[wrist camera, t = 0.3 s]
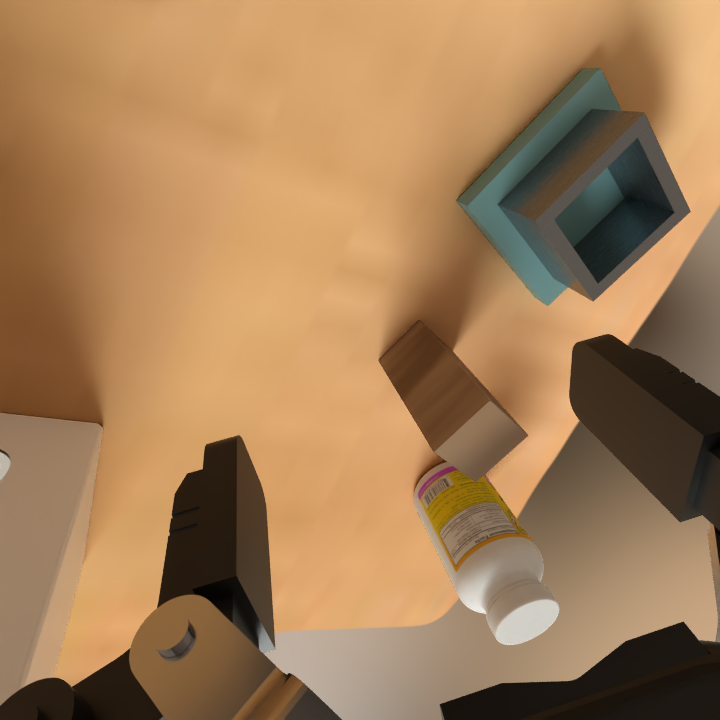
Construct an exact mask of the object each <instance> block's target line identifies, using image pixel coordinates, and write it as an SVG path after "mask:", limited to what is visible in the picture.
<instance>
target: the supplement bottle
mask: <svg viewBox="0 0 720 720" xmlns="http://www.w3.org/2000/svg"><path fill="white" fill-rule="evenodd" d="M414 505H415V508H416V511H417V513H418V515H419V517H420V519H421V521H422V523H423V525H424V527H425V529H426V531H427V533H428V535H429V537H430V539H431V541H432V543H433V545H434V547H435V549H436V551H437V553H438V555H439V557H440V559H441V561H442V564H443V566H444V568H445V570H446V572H447V574H448V576H449V578H450V580H451V582H452V584H453V586H454V588H455V590H456V592H457V594H458V596H459V598H460V600H461V601H462V602H463V603H464V604H465V605H466V606H467V607H468V608H470V609H471V610H474V611H476V612H479V613H485V614H486V617H487V622H488V625H489V626H490V628H491V630H492V632H493V634H494V635H495V637H496V639H497V640H498V641H499V642H500V643H502V644H506V645H514V644H520V643H523V642H525V641H528V640H530V639H532V638H534V637H536V636H538V635H540V634H541V633H543V632H544V631H545V630H546V629H547V628H549V627H550V626H551V624H552V623H553V622H554V621H555V620H556V618H557V616H558V613H559V604H558V602H557V601H556V599H555V598H554V596H553V594H552V593H551V591H550V590H549V588H548V587H547V586H545V585H544V584H542V583H541V582H540V581H541V579H542V576H543V571H544V562H543V558H542V555H541V553H540V552H539V550H538V548H537V547H536V545H535V544H534V543H533V541H532V540H531V538H530V537H529V536H528V534H527V533H526V531H525V530H524V529H523V527H522V526H521V525H520V523H519V522H518V520H517V519H516V517H515V516H514V515H513V513H512V512H511V510H510V509H509V508H508V506H507V505H506V503H505V502H504V501H503V499H502V498H501V496H500V495H499V493H498V492H497V491H496V489H495V488H494V487H493V485H492V484H491V482H490V481H489V479H488V478H487V477H486V475H485V474H484V475H483V476H482V477H481V478H480V479H479V480H477V481H476V482H474V481H473V480H472V479H470V478H469V477H468V476H466V475H465V474H463V473H462V472H461V471H459V470H458V469H456V468H455V467H454V466H452V465H451V464H450V463H448V462H444V463H442V464H439V465H437V466H436V467H434V468H432V469H431V470H429V471H428V472H427V473H426V474H425V475H424V476H423V477H422V478H421V480H420V481H419V483H418V484H417V486H416V489H415V492H414Z"/></svg>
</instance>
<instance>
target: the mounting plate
mask: <svg viewBox="0 0 720 720" xmlns="http://www.w3.org/2000/svg"><path fill="white" fill-rule="evenodd" d="M591 109H601V110H615V111H622V110H621V108H620V106H619V104H618V102H617V100H616V98H615V96H614V94H613V92H612V90H611V88H610V86H609V84H608V82H607V80H606V78H605V76H604V74H603V72H602V70H601V68H592V69H582V70H581V71H580V72H579V73H578V74H577V75H576V76H575V78H574V79H573V80H572V81H571V82H570V83H569V84H568V85H567V86H566V87H565V88H564V89H563V90H562V91H561V92H560V93H559V94H558V95H557V96H556V97H555V98H554V99H553V100H552V102H551V103H550V104H549V105H548V106H547V107H546V108H545V109H544V110H543V111H542V112H541V113H540V114H539V115H538V116H537V117H536V118H535V119H534V120H533V121H532V122H531V123H530V124H529V126H528V127H527V128H526V129H525V130H524V131H523V132H522V133H521V134H520V135H519V136H518V137H517V138H516V139H515V140H514V141H513V142H512V143H511V144H510V145H509V146H508V147H507V148H506V150H505V151H504V152H503V153H502V154H501V155H500V156H499V157H498V158H497V159H496V160H495V161H494V162H493V163H492V164H491V165H490V166H489V167H488V168H487V169H486V170H485V171H484V172H483V173H482V175H481V176H480V177H479V178H478V179H477V180H476V181H475V182H474V183H473V184H472V185H471V186H470V187H469V188H468V189H467V190H466V191H465V192H464V193H463V194H462V195H461V196H460V197H459V199H458V200H457V202H458V204H459V205H460V206H461V207H462V208H463V210H464V211H465V212H466V213H467V215H468V216H469V217H470V218H471V219H472V221H473V222H474V223H475V224H476V226H477V227H478V228H479V229H480V231H481V232H482V233H483V234H484V235H485V237H486V238H487V239H488V240H489V242H490V243H491V244H492V245H493V246H494V248H495V249H496V250H497V251H498V253H499V254H500V255H501V256H502V257H503V259H504V260H505V261H506V262H507V264H508V265H509V266H510V267H511V268H512V270H513V271H514V272H515V273H516V275H517V276H518V277H519V278H520V279H521V281H522V282H523V283H524V284H525V286H526V287H527V288H528V289H529V290H530V292H531V293H532V294H533V295H534V297H535V298H537V299H538V300H540V301H541V302H543V303H544V304H546V305H547V306H548V305H549V304H550V303H551V302H552V301H554V300H555V299H556V298H557V297H558V296H559V295H560V294H561V293H562V292H563V291H564V290H565V289H566V288H567V286H565V285H564V284H562V283H560V282H558V281H557V280H555V279H554V278H553V277H552V276H551V275H550V273H549V272H548V271H547V269H546V268H545V267H544V265H543V264H542V263H541V261H540V260H539V259H538V257H537V256H536V255H535V253H534V252H533V251H532V249H531V248H530V247H529V246H528V244H527V243H526V242H525V240H524V239H523V238H522V236H521V235H520V234H519V232H518V231H517V230H516V228H515V227H514V226H513V224H512V223H511V222H510V220H509V219H508V218H507V217H506V215H505V214H504V213H503V211H502V210H501V209H500V207H499V206H498V204H499V203H500V202H501V201H502V200H503V198H504V197H505V196H506V195H507V194H508V193H509V192H510V191H511V190H512V189H513V188H514V187H515V186H516V185H517V184H518V183H519V182H520V181H521V180H522V179H523V178H524V177H525V176H526V175H527V174H528V173H529V172H530V171H531V170H532V169H533V168H534V167H535V166H536V165H537V164H538V163H539V162H540V161H541V160H542V159H543V158H544V157H545V156H546V155H547V154H548V153H549V152H550V151H551V150H552V149H553V148H554V147H555V146H556V144H557V143H558V142H559V141H560V140H561V139H562V138H563V137H564V136H565V135H566V134H567V133H568V132H569V131H570V130H571V129H572V128H573V127H574V126H575V125H576V124H577V123H578V122H579V121H580V120H581V119H582V118H583V117H584V116H585V115H586V114H587V113H588V112H589V111H590V110H591ZM623 199H624V197H623V195H622V193H621V191H620V189H619V188H618V186H617V184H616V182H615V181H614V179H613V177H612V175H611V173H610V172H609V170H608V168H606V169H605V170H604V171H603V172H602V173H601V174H600V175H599V176H598V177H597V178H596V179H595V180H594V181H593V182H592V183H591V184H590V185H589V186H588V187H587V188H586V189H585V190H584V191H583V192H582V193H581V194H580V195H579V196H578V197H577V198H576V199H574V200H573V201H572V202H571V203H570V204H569V205H568V206H567V207H566V208H565V209H564V210H563V211H562V212H561V213H560V214H559V215H558V216H557V217H556V218H555V219H554V221H555V222H556V223H557V225H558V226H559V228H560V229H561V231H562V232H563V234H564V235H565V237H566V238H567V239H568V241H569V242H570V244H571V245H572V247H574V246H575V245H576V244H577V243H578V242H579V241H580V240H581V239H583V238H584V237H585V236H586V235H587V234H588V233H589V232H590V231H591V230H592V229H593V228H594V227H595V226H596V225H597V224H598V223H599V222H600V221H601V220H602V219H603V218H604V217H605V216H606V215H608V214H609V213H610V212H611V211H612V210H613V209H614V208H615V207H616V206H617V205H618V204H619V203H620V202H621V201H622V200H623Z"/></svg>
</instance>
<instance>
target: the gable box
mask: <svg viewBox="0 0 720 720" xmlns="http://www.w3.org/2000/svg"><path fill="white" fill-rule="evenodd" d="M102 434H103V428H102V427H101V426H100V425H99V424H98V423H89V422H80V421H71V420H62V419H53V418H43V417H34V416H25V415H16V414H7V413H0V705H1V704H2V703H3V702H5V701H6V700H7V699H8V698H9V697H10V696H11V695H13V694H14V693H16V692H17V691H18V690H20V689H21V688H23V687H25V686H26V685H28V684H30V683H33V682H35V681H37V680H41V679H44V678H54V675H55V671H56V668H57V664H58V660H59V656H60V652H61V648H62V645H63V641H64V637H65V633H66V629H67V625H68V621H69V618H70V614H71V610H72V606H73V602H74V598H75V595H76V591H77V587H78V583H79V579H80V575H81V571H82V568H83V562H84V555H85V549H86V542H87V535H88V528H89V522H90V515H91V508H92V502H93V495H94V488H95V481H96V475H97V468H98V461H99V454H100V448H101V441H102Z"/></svg>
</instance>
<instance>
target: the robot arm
mask: <svg viewBox="0 0 720 720" xmlns="http://www.w3.org/2000/svg"><path fill="white" fill-rule="evenodd" d="M569 397H570V403H571V406H572V409H573V411H574V413H575V415H576V416H577V417H578V419H579V420H580V421H581V422H582V423H583V424H584V425H585V426H586V427H587V428H588V429H589V430H590V431H591V432H592V433H593V434H594V435H595V436H596V437H597V438H598V439H599V440H600V441H601V442H602V443H603V444H604V445H605V446H606V447H607V448H608V449H609V450H610V451H611V452H612V453H613V455H614V456H615V457H616V458H617V459H618V460H619V461H620V462H621V463H622V464H623V465H624V466H625V467H626V468H627V469H628V470H629V471H630V472H631V473H632V474H633V475H634V476H635V477H636V478H637V479H638V480H639V481H640V482H641V483H642V484H643V485H644V486H645V487H646V488H647V489H648V490H649V491H650V492H651V493H652V494H653V495H654V496H655V497H656V498H657V499H658V500H659V501H660V502H661V503H662V504H663V505H664V506H665V507H666V508H667V509H668V510H669V511H670V513H672V514H673V515H674V517H675V518H676V519H677V520H678V521H679V522H682V521H685V520H689V519H692V518H695V517H698V516H701V515H703V516H704V517H705V518H706V519H708V520H709V521H710V525H709V529H708V540H709V548H710V556H711V563H712V572H713V580H714V587H715V595H716V603H717V611H718V628H717V635H716V642H712V641H701V640H700V641H699V640H698V639H697V638H696V636H695V635H694V634H693V633H692V632H691V630H690V629H689V628H688V627H687V625H686V624H685V623H684V622H681V623H678V624H675V625H673V626H669V627H666V628H663V629H661V630H658V631H654V632H652V633H649V634H646V635H643V636H640V637H637V638H634V639H631V640H628V641H625V642H624V643H623V644H622V645H621V646H619V647H618V648H617V649H615V650H614V651H613V652H611V653H610V654H609V655H608V656H606V657H605V658H604V659H602V660H601V661H600V662H599V663H597V664H596V665H595V666H593V667H592V668H591V669H590V670H588V671H587V672H586V673H585V674H583V675H582V676H581V677H579V678H578V679H575V680H572V681H561V682H529V683H501V684H498V685H495V686H492V687H489V688H486V689H484V690H481V691H478V692H475V693H472V694H469V695H466V696H463V697H460V698H457V699H454V700H451V701H448V702H445V703H442V704H440V709H441V713H442V719H443V720H720V397H719V396H718V395H716V394H715V393H713V392H712V391H711V390H709V389H708V388H706V387H705V386H703V385H702V384H700V383H695V380H694V379H693V378H691V377H690V376H688V375H687V374H685V373H684V372H681V373H680V371H679V369H678V368H676V367H675V366H673V365H672V364H670V363H669V362H667V361H666V360H664V359H663V358H661V357H659V356H657V355H653V354H651V353H648V352H645V351H643V350H640V349H637V348H636V349H632V348H630V347H629V346H627V345H626V344H625V343H623V342H622V341H620V340H619V339H617V338H616V337H615V336H613V335H610V334H606V335H602V336H599V337H595V338H591V339H588V340H584V341H581V342H577V343H576V344H575V345H574V347H573V351H572V363H571V377H570V391H569ZM172 517H173V518H172V519H171V523H170V530H169V532H170V536H168V543H167V549H166V556H165V562H164V569H163V576H162V582H161V589H160V595H159V602H158V606H157V609H156V610H154V611H153V612H152V613H151V614H150V615H149V616H148V617H147V618H146V620H145V621H144V622H143V623H142V625H141V626H140V628H139V629H138V631H137V633H136V635H135V637H134V639H133V642H132V645H131V648H130V649H129V650H127V651H126V652H125V653H124V654H123V655H121V656H120V657H118V658H117V659H115V660H114V661H112V662H111V663H109V664H108V665H106V666H104V667H103V668H101V669H100V670H98V671H97V672H95V673H93V674H92V675H90V676H89V677H87V678H85V679H84V680H82V681H81V682H79V683H78V684H76V685H74V686H73V687H71V686H70V685H69V684H68V683H67V682H65V681H64V680H62V679H59V678H44V679H41V680H37V681H35V682H33V683H30V684H28V685H26V686H25V687H23V688H21V689H20V690H18V691H17V692H16V693H14V694H13V695H11V696H10V697H9V698H8V699H7V700H6V701H5V702H3V703H2V704H1V705H0V720H342V719H341V718H340V717H339V716H338V715H337V714H335V713H334V712H333V711H332V710H331V709H330V708H329V707H328V706H327V705H326V704H325V703H324V702H323V701H322V700H321V699H320V698H319V697H318V696H317V695H316V694H315V693H314V692H313V691H312V690H310V689H309V688H308V687H307V686H306V685H305V684H304V683H303V682H302V681H301V680H299V679H298V678H297V677H296V676H294V675H292V674H290V673H289V674H288V675H286V674H285V673H283V672H282V671H281V670H280V669H279V668H277V667H276V666H275V665H274V664H273V663H272V662H271V661H270V660H269V659H268V658H267V657H266V656H265V655H264V654H263V653H265V652H268V651H271V650H275V638H274V621H273V605H272V590H271V574H270V558H269V542H268V527H267V511H266V503H265V497H264V493H263V489H262V486H261V483H260V481H259V478H258V476H257V473H256V471H255V468H254V466H253V463H252V461H251V459H250V456H249V454H248V451H247V449H246V446H245V444H244V442H243V440H242V438H241V436H239V435H238V436H234V437H231V438H227V439H224V440H220V441H216V442H213V443H209V444H206V446H205V451H204V462H203V469H202V470H198V471H195V472H191V473H188V474H187V475H186V476H185V478H184V480H183V481H182V483H181V485H180V486H179V488H178V490H177V491H176V493H175V497H174V503H173V510H172Z"/></svg>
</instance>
